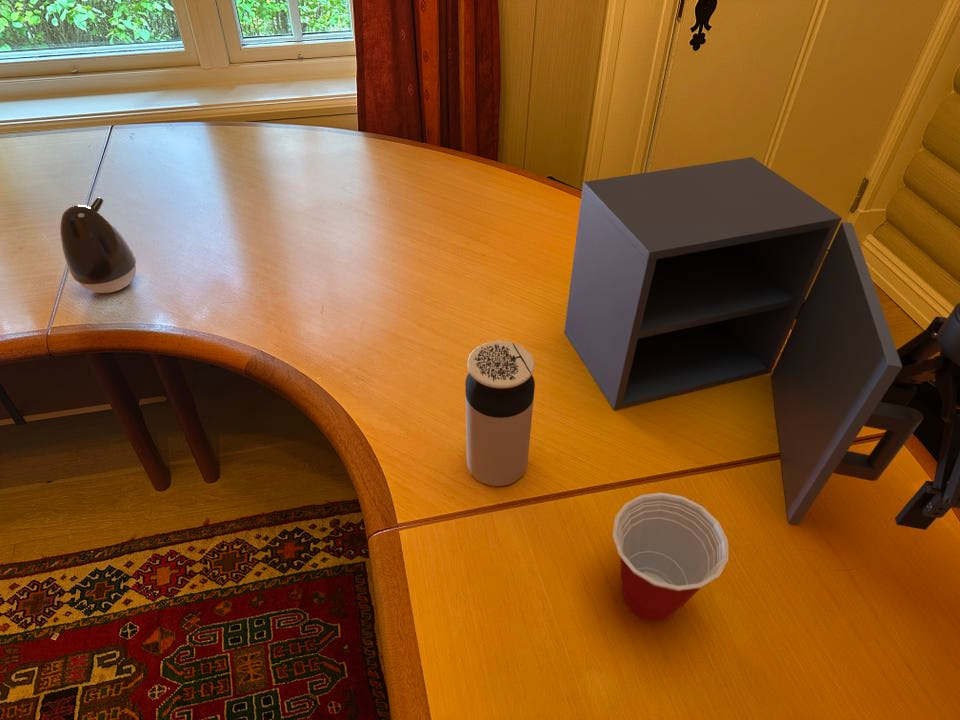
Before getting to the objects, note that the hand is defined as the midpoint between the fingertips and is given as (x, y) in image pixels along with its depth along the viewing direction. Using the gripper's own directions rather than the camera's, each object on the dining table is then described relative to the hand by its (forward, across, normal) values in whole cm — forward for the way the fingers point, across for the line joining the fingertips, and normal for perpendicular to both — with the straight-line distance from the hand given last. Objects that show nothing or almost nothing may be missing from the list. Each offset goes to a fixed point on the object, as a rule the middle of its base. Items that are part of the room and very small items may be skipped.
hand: (891, 471), depth 66 cm
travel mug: (+10, +1, -44) cm, 45 cm away
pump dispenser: (+10, -23, -119) cm, 121 cm away
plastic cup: (+10, +15, -24) cm, 30 cm away
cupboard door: (+10, -11, -4) cm, 15 cm away
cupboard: (+10, -26, -22) cm, 36 cm away
